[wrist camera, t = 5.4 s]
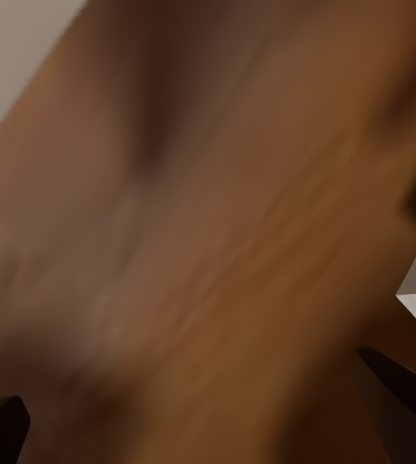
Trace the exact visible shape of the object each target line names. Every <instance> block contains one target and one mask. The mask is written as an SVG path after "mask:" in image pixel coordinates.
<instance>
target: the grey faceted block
mask: <svg viewBox="0 0 416 464" xmlns="http://www.w3.org/2000/svg"><path fill="white" fill-rule="evenodd" d="M396 297H397V298H398V299H399V300H400V301H401V302H402V303H403V304H404V305H405V306H406V308H407V309H408V310H409V311H410V312H411V313H412V314H413V315H414V316H415V317H416V258H415V260H414V262H413V264H412V266H411V268H410V269H409V271H408V273H407V275H406V277H405V279H404V281H403V282H402V284H401V286H400V288H399V290H398V292H397V293H396Z"/></svg>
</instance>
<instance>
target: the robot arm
mask: <svg viewBox="0 0 416 464" xmlns="http://www.w3.org/2000/svg"><path fill="white" fill-rule="evenodd" d="M353 372H354V378H355V382H356V384H357V387H358V389H359V391H360V394H361V396H362V398H363V401H364V403H365V405H366V408H367V410H368V412H369V415H370V417H371V419H372V422H373V424H374V426H375V429H376V431H377V433H378V435H379V438H380V440H381V442H382V444H383V447H384V448H385V450H386V452H387V454H388V456H389V458H390V460H391V462H392V464H416V373H415V372H414V371H412V370H410V369H408V368H407V367H405V366H403V365H402V364H400V363H398V362H397V361H395V360H393V359H392V358H390V357H388V356H387V355H385V354H383V353H381V352H380V351H378V350H376V349H375V348H373V347H371V346H364V347H356V348H354V349H353ZM29 427H30V415H29V413H28V411H27V409H26V407H25V405H24V403H23V400H22V398H21V397H20V396H18V395H13V396H5V397H2V398H0V464H16V463H17V460H18V458H19V455H20V452H21V449H22V447H23V444H24V441H25V438H26V436H27V433H28V430H29Z"/></svg>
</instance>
